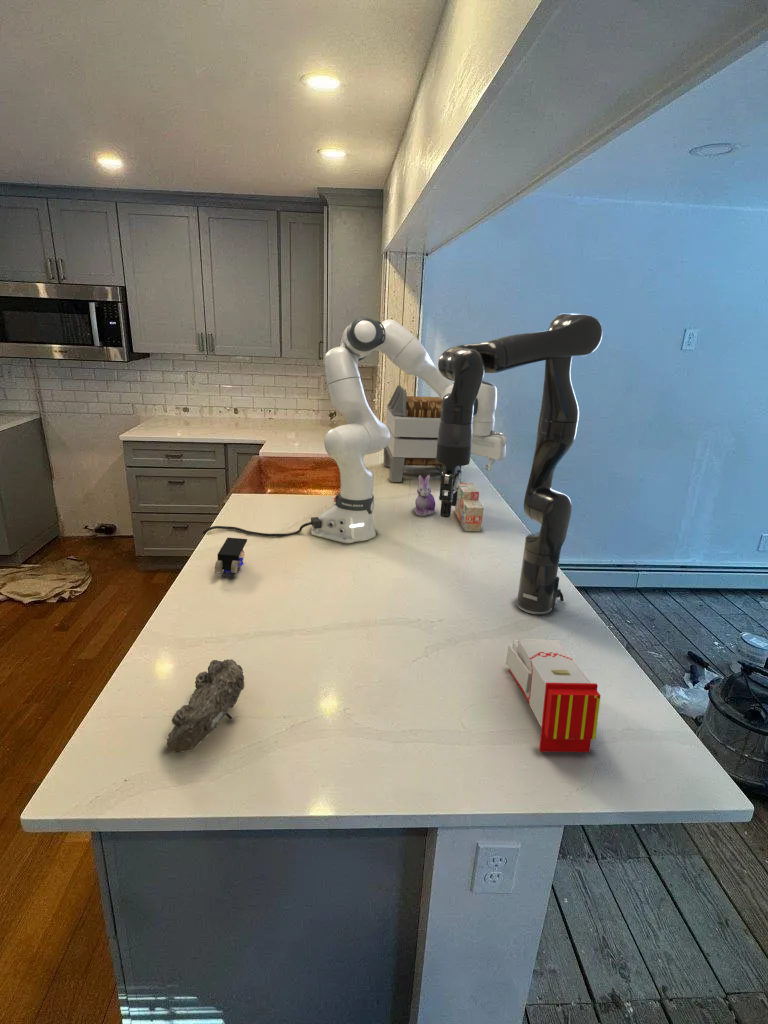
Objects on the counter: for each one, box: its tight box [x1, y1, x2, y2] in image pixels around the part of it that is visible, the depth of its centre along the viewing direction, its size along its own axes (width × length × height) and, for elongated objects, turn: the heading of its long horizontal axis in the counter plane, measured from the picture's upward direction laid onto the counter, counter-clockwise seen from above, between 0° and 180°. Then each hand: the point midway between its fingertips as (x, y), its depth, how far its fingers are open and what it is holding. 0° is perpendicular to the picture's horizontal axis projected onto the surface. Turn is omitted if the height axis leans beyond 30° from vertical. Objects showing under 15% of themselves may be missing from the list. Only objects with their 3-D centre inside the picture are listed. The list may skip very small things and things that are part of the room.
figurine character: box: [214, 537, 248, 578], centre depth 166 cm, size 7×8×15 cm
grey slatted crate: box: [383, 384, 445, 483], centre depth 268 cm, size 34×33×41 cm
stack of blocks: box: [454, 482, 485, 532], centre depth 213 cm, size 21×6×12 cm, turn 3°
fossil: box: [166, 658, 245, 754], centre depth 106 cm, size 22×10×15 cm
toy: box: [505, 638, 602, 753], centre depth 114 cm, size 12×13×30 cm
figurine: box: [413, 474, 436, 517], centre depth 219 cm, size 9×10×15 cm
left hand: (477, 467), depth 201 cm, fingers open, 8 cm apart
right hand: (448, 510), depth 130 cm, fingers open, 8 cm apart
